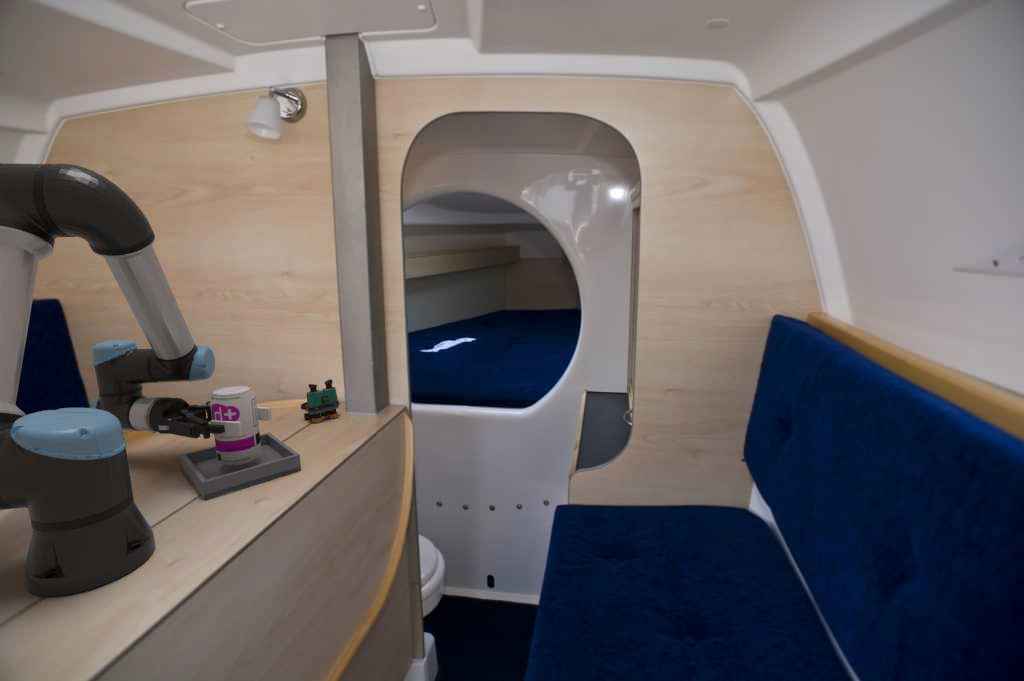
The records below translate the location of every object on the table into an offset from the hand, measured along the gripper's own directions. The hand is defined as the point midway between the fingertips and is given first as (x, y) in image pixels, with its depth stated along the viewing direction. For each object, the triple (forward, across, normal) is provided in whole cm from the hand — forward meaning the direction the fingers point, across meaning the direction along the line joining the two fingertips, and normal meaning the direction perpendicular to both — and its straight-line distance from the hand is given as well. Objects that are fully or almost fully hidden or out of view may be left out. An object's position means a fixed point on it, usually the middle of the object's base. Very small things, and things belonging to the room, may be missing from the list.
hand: (255, 421), depth 105 cm
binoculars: (-7, -33, -12) cm, 36 cm away
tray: (-5, 0, -11) cm, 12 cm away
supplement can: (-5, 0, -9) cm, 10 cm away
